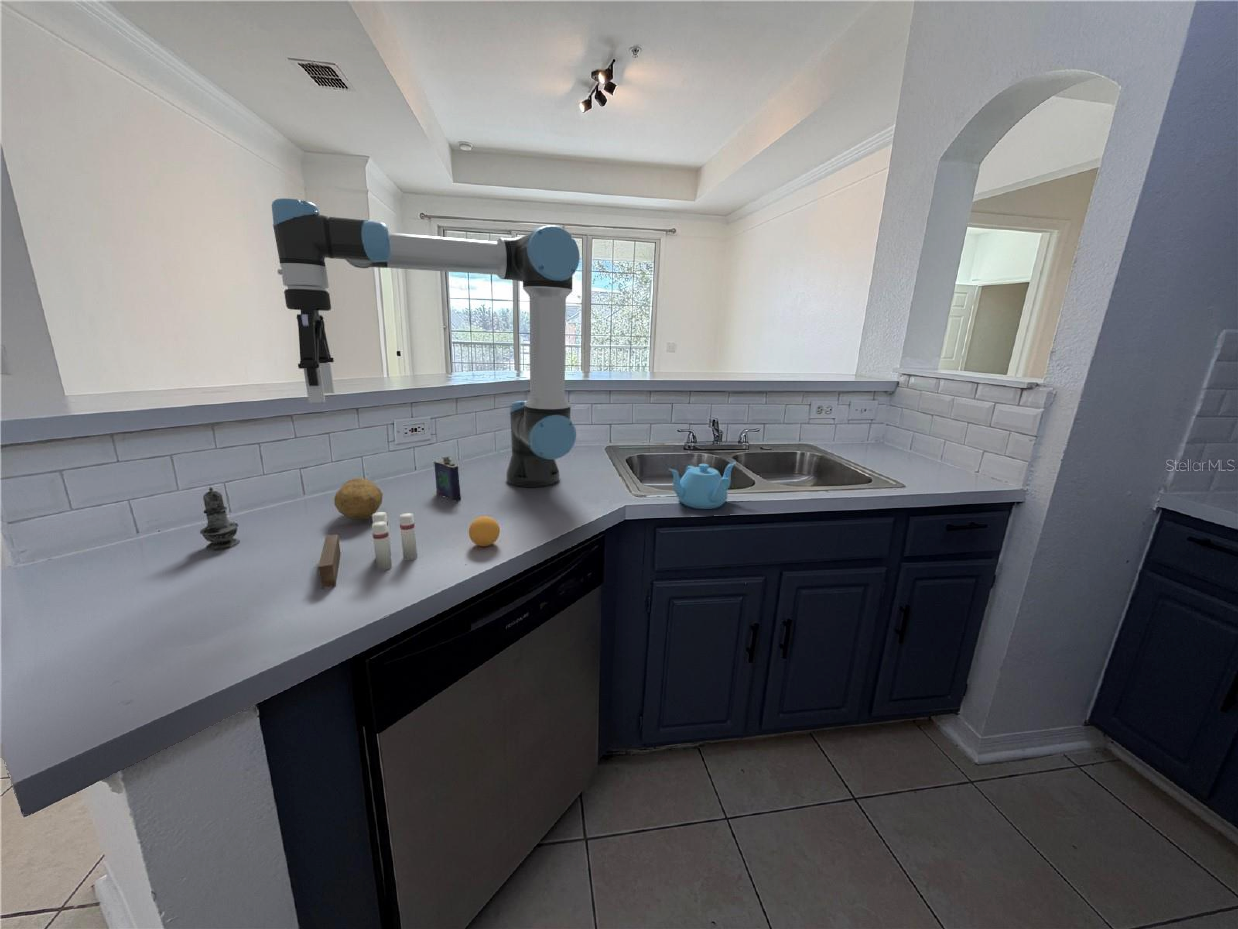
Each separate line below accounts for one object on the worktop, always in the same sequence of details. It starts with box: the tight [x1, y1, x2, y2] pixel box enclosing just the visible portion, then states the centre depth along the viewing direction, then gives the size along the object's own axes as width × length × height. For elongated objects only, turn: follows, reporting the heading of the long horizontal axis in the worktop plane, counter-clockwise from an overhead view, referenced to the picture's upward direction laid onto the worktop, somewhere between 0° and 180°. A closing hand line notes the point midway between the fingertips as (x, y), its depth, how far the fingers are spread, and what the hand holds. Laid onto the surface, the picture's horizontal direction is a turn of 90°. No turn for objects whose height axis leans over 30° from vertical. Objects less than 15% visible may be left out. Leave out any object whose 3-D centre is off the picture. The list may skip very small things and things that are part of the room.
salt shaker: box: [199, 486, 241, 552], centre depth 93 cm, size 6×6×12 cm
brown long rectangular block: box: [318, 534, 342, 589], centre depth 86 cm, size 2×13×4 cm, turn 26°
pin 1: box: [371, 511, 392, 556], centre depth 91 cm, size 2×2×8 cm
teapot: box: [668, 461, 737, 510], centre depth 124 cm, size 15×15×10 cm
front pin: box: [398, 512, 418, 561], centre depth 91 cm, size 2×2×8 cm
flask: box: [433, 455, 462, 502], centre depth 123 cm, size 9×3×11 cm, turn 50°
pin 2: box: [371, 522, 392, 572], centre depth 87 cm, size 2×2×8 cm
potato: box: [333, 477, 383, 521], centre depth 109 cm, size 10×14×8 cm
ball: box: [468, 515, 501, 547], centre depth 97 cm, size 6×6×6 cm
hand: (322, 397), depth 100 cm, fingers open, 13 cm apart
